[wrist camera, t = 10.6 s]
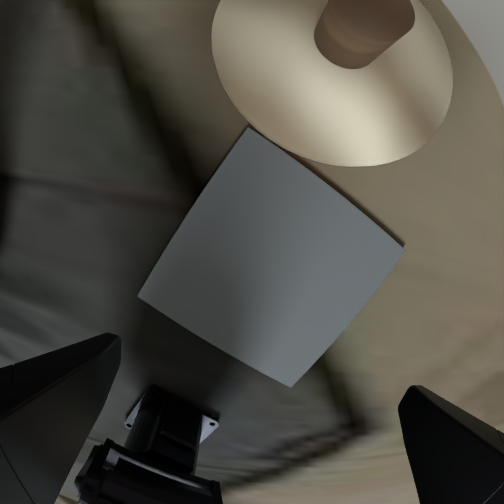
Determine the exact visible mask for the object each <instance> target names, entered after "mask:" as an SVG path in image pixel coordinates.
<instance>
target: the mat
mask: <svg viewBox="0 0 504 504" xmlns="http://www.w3.org/2000/svg"><path fill="white" fill-rule="evenodd" d="M405 251H406V250H405V249H404V248H403V247H402V246H400V245H399V244H398V243H397V242H396V241H395V240H394V239H393V238H391V237H390V236H389V235H388V234H387V233H386V232H385V231H384V230H382V229H381V228H380V227H379V226H378V225H377V224H375V223H374V222H373V221H372V220H371V219H370V218H368V217H367V216H366V215H365V214H364V213H362V212H361V211H360V210H359V209H358V208H356V207H355V206H354V205H353V204H352V203H350V202H349V201H348V200H347V199H345V198H344V197H343V196H342V195H340V194H339V193H338V192H337V191H335V190H334V189H333V188H332V187H330V186H329V185H328V184H326V183H325V182H324V181H323V180H321V179H320V178H319V177H317V176H316V175H315V174H313V173H312V172H311V171H309V170H308V169H307V168H305V167H304V166H303V165H301V164H300V163H299V162H297V161H296V160H295V159H293V158H292V157H291V156H289V155H288V154H286V153H285V152H284V151H282V150H281V149H279V148H278V147H277V146H275V145H274V144H272V143H271V142H269V141H268V140H267V139H265V138H264V137H262V136H261V135H259V134H258V133H256V132H255V131H253V130H252V129H250V128H249V127H248V128H247V129H246V131H245V132H244V133H243V135H242V136H241V137H240V139H239V140H238V141H237V143H236V144H235V146H234V147H233V148H232V150H231V151H230V153H229V154H228V155H227V157H226V158H225V160H224V161H223V162H222V164H221V165H220V167H219V168H218V170H217V171H216V172H215V174H214V175H213V177H212V178H211V180H210V181H209V183H208V184H207V186H206V187H205V189H204V190H203V192H202V193H201V194H200V196H199V197H198V199H197V200H196V202H195V203H194V205H193V207H192V208H191V210H190V211H189V213H188V214H187V216H186V217H185V219H184V220H183V222H182V223H181V225H180V227H179V228H178V230H177V231H176V233H175V234H174V236H173V238H172V239H171V241H170V242H169V244H168V246H167V247H166V249H165V250H164V252H163V254H162V255H161V257H160V259H159V260H158V262H157V264H156V265H155V267H154V268H153V270H152V272H151V273H150V275H149V277H148V279H147V280H146V282H145V284H144V285H143V287H142V289H141V290H140V292H139V294H138V297H139V298H141V299H142V300H143V301H145V302H146V303H148V304H149V305H151V306H152V307H154V308H155V309H157V310H158V311H160V312H161V313H163V314H164V315H166V316H167V317H169V318H171V319H172V320H174V321H175V322H177V323H178V324H180V325H181V326H183V327H185V328H186V329H188V330H189V331H191V332H193V333H194V334H196V335H197V336H199V337H201V338H202V339H204V340H206V341H207V342H209V343H211V344H212V345H214V346H216V347H217V348H219V349H221V350H223V351H224V352H226V353H228V354H229V355H231V356H233V357H235V358H236V359H238V360H240V361H242V362H243V363H245V364H247V365H249V366H251V367H252V368H254V369H256V370H258V371H260V372H262V373H264V374H265V375H267V376H269V377H271V378H273V379H275V380H277V381H279V382H281V383H282V384H284V385H286V386H288V387H290V388H291V387H292V386H293V385H294V384H295V383H296V382H297V381H298V380H299V379H300V378H301V377H302V375H303V374H304V373H305V372H306V371H307V370H308V369H309V368H310V367H311V366H312V365H313V364H314V363H315V362H316V361H317V359H318V358H319V357H320V356H321V355H322V354H323V353H324V352H325V351H326V350H327V348H328V347H329V346H330V345H331V344H332V343H333V342H334V341H335V339H336V338H337V337H338V336H339V335H340V334H341V333H342V331H343V330H344V329H345V328H346V327H347V326H348V324H349V323H350V322H351V321H352V320H353V318H354V317H355V316H356V315H357V314H358V312H359V311H360V310H361V309H362V307H363V306H364V305H365V304H366V303H367V301H368V300H369V299H370V297H371V296H372V295H373V294H374V292H375V291H376V290H377V289H378V287H379V286H380V285H381V283H382V282H383V281H384V279H385V278H386V277H387V276H388V274H389V273H390V272H391V270H392V269H393V267H394V266H395V265H396V263H397V262H398V261H399V259H400V258H401V256H402V255H403V254H404V252H405Z"/></svg>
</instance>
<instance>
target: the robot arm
mask: <svg viewBox="0 0 504 504" xmlns="http://www.w3.org/2000/svg"><path fill="white" fill-rule="evenodd" d="M120 361H121V338H120V336H118V335H115V334H112V333H104V334H101V335H98V336H95V337H92V338H90V339H87V340H84V341H81V342H78V343H75V344H72V345H69V346H66V347H63V348H60V349H58V350H55V351H52V352H49V353H46V354H43V355H40V356H37V357H34V358H31V359H28V360H25V361H21V362H18V363H15V364H14V366H13V365H9V366H6V367H3V368H0V504H54V503H55V501H56V499H57V497H58V494H59V492H60V490H61V488H62V486H63V484H64V482H65V480H66V478H67V476H68V474H69V472H70V470H71V468H72V466H73V464H74V462H75V460H76V458H77V456H78V454H79V452H80V450H81V448H82V446H83V444H84V443H85V441H86V439H87V437H88V435H89V433H90V431H91V429H92V427H93V425H94V424H95V422H96V420H97V418H98V416H99V414H100V412H101V410H102V408H103V406H104V404H105V401H106V399H107V396H108V394H109V391H110V389H111V386H112V384H113V381H114V379H115V376H116V374H117V371H118V369H119V366H120ZM152 390H153V391H155V392H153V391H152ZM398 413H399V418H400V423H401V428H402V433H403V439H404V444H405V448H406V452H407V456H408V459H409V463H410V466H411V470H412V474H413V478H414V481H415V485H416V489H417V493H418V497H419V501H420V504H504V433H503V432H501V431H499V430H496V429H495V428H494V427H492V426H490V425H488V424H487V423H485V422H483V421H481V420H480V419H478V418H476V417H474V416H473V415H471V414H469V413H467V412H466V411H464V410H462V409H461V408H459V407H457V406H455V405H454V404H452V403H450V402H449V401H447V400H445V399H444V398H442V397H440V396H438V395H437V394H435V393H433V392H432V391H430V390H428V389H427V388H425V387H423V386H421V385H412V386H410V387H409V388H408V389H407V391H406V393H405V395H404V396H403V398H402V400H401V402H400V403H399V406H398ZM211 422H214V423H211ZM218 425H219V420H218V419H217V418H215V417H213V416H211V415H209V414H207V413H205V412H203V411H201V410H199V409H197V408H195V407H193V406H192V405H190V404H188V403H186V402H184V401H182V400H180V399H178V398H177V397H175V396H173V395H171V394H170V393H168V392H166V391H164V390H163V389H161V388H159V387H157V386H155V385H151V386H149V387H148V389H147V390H146V392H145V393H144V395H143V396H142V397H141V399H140V400H139V402H138V403H137V404H136V406H135V407H134V409H133V410H132V411H131V413H130V414H129V416H128V417H127V419H126V420H125V422H124V426H125V427H126V428H128V429H130V432H129V435H128V437H127V440H126V442H125V445H124V447H122V446H120V445H118V444H116V443H114V441H113V440H111V439H109V438H107V439H106V441H105V443H104V445H103V444H101V445H94V447H93V449H92V451H91V453H90V455H89V457H88V459H87V461H86V463H85V464H84V466H83V467H82V469H81V470H80V472H79V473H78V475H77V476H76V479H75V481H74V484H75V486H76V488H77V490H78V492H79V493H78V496H77V497H79V501H78V504H223V502H222V496H221V490H220V483H219V482H217V481H214V480H211V481H210V480H207V479H204V478H201V477H198V476H195V469H196V463H197V457H198V451H199V445H200V443H201V442H202V441H203V440H204V439H205V438H206V437H207V436H208V435H209V434H211V433H212V432H213V431H214V430H215V429H216V428H217V427H218Z"/></svg>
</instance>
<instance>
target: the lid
mask: <svg viewBox="0 0 504 504" xmlns="http://www.w3.org/2000/svg"><path fill="white" fill-rule="evenodd" d="M211 43H212V53H213V58H214V61H215V65H216V69H217V72H218V75H219V78H220V80H221V82H222V85H223V87H224V90H225V91H226V93H227V95H228V96H229V98H230V100H231V101H232V103H233V105H234V106H235V107H236V108H237V110H238V111H239V112H240V113H241V115H242V116H243V117H244V118H245V119H246V120H247V121H248V122H249V123H250V124H251V125H252V126H253V127H254V128H255V129H256V130H257V131H259V132H260V133H261V134H263V135H264V136H265V137H266V138H268V139H269V140H271V141H272V142H274V143H275V144H277V145H279V146H280V147H282V148H284V149H285V150H288V151H290V152H292V153H294V154H296V155H298V156H301V157H304V158H307V159H310V160H313V161H316V162H320V163H325V164H329V165H335V166H347V167H354V166H374V165H380V164H385V163H390V162H393V161H396V160H399V159H402V158H404V157H406V156H408V155H409V154H411V153H413V152H415V151H416V150H418V149H419V148H420V147H422V146H423V145H425V144H426V143H427V142H428V141H429V140H430V139H431V138H432V137H433V135H434V134H435V133H436V132H437V130H438V129H439V127H440V126H441V124H442V122H443V120H444V118H445V116H446V114H447V111H448V108H449V105H450V102H451V96H452V89H453V73H452V65H451V60H450V56H449V52H448V48H447V46H446V43H445V40H444V38H443V35H442V33H441V32H440V30H439V28H438V26H437V24H436V22H435V21H434V19H433V18H432V16H431V15H430V13H429V12H428V11H427V9H426V8H425V7H424V6H423V5H422V3H421V2H420V1H419V0H221V1H220V3H219V5H218V8H217V10H216V12H215V16H214V20H213V24H212V35H211Z"/></svg>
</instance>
